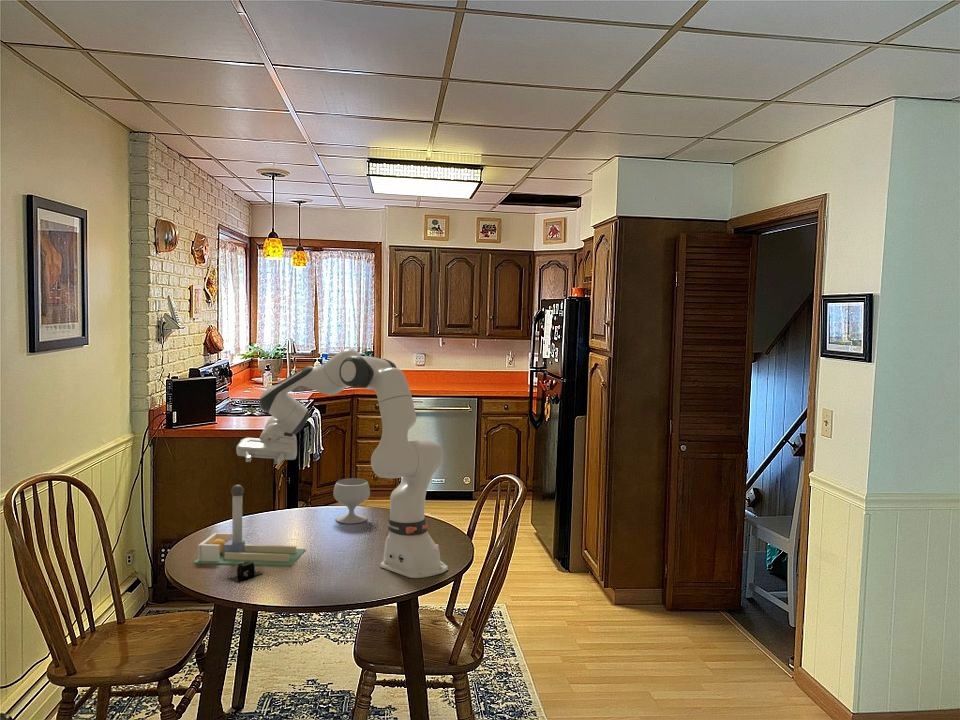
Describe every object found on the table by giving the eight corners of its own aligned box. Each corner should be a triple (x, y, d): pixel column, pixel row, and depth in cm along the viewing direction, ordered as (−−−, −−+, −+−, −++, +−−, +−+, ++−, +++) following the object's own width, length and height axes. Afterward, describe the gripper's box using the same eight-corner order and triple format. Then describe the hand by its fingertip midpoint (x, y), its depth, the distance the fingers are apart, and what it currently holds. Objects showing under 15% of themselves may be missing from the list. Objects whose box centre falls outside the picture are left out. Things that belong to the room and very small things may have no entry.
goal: (298, 550, 236) (298, 535, 235) (286, 563, 223) (286, 547, 222) (214, 547, 236) (214, 532, 236) (198, 560, 223) (198, 545, 223)
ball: (208, 555, 230) (222, 559, 229) (206, 547, 226) (221, 551, 226) (214, 542, 233) (229, 546, 233) (213, 534, 230) (228, 537, 230)
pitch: (305, 550, 237) (305, 548, 237) (291, 566, 221) (291, 565, 221) (213, 547, 238) (213, 545, 238) (193, 563, 222) (193, 562, 222)
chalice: (371, 524, 269) (372, 485, 268) (334, 526, 265) (335, 486, 264) (367, 514, 282) (367, 477, 282) (331, 516, 278) (332, 478, 278)
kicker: (246, 551, 232) (246, 483, 231) (240, 556, 227) (240, 486, 226) (229, 550, 232) (229, 482, 231) (223, 555, 227) (223, 486, 226)
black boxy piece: (255, 570, 219) (255, 555, 219) (270, 575, 215) (271, 560, 215) (220, 581, 209) (220, 566, 209) (235, 587, 205) (235, 572, 205)
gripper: (241, 430, 250) (230, 450, 237) (300, 435, 251) (292, 455, 238) (242, 446, 252) (230, 466, 239) (300, 450, 254) (292, 471, 241)
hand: (262, 461), depth 239 cm, fingers open, 8 cm apart
